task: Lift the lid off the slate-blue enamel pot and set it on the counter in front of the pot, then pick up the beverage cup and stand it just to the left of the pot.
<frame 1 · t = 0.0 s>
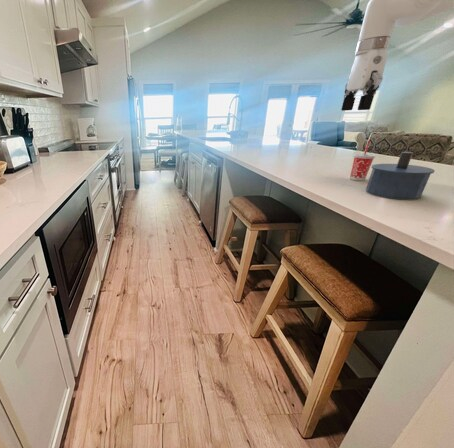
hand: (354, 110, 80), 24 cm above the countertop, tool pointing down, fingers open, 9 cm apart
pot lid: (400, 169, 72), point 7 cm above the countertop, touching pot
beverage cup: (356, 179, 92), on the countertop
pot: (391, 193, 75), on the countertop
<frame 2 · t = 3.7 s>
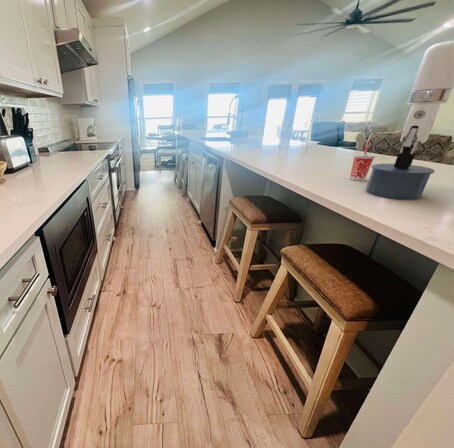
hand: (402, 166, 72), 8 cm above the countertop, tool pointing down, fingers closed on pot lid, 2 cm apart
pot lid: (400, 169, 72), point 8 cm above the countertop, touching gripper, pot
everything else where it was.
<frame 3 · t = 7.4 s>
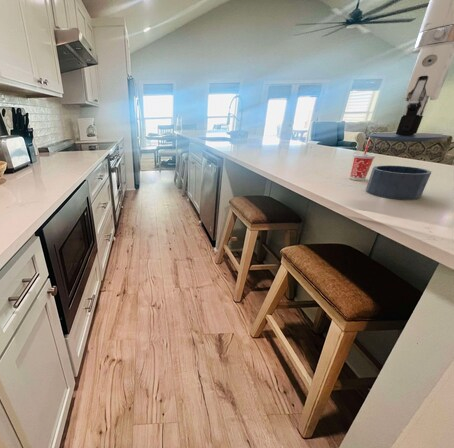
hand: (406, 133, 58), 19 cm above the countertop, tool pointing down, fingers closed on pot lid, 2 cm apart
pot lid: (404, 137, 58), point 18 cm above the countertop, touching gripper
everything else where it was.
when the fingers open (1 cm above the countertop, at t = 11.3 s): pot lid stays where it is, point 1 cm above the countertop.
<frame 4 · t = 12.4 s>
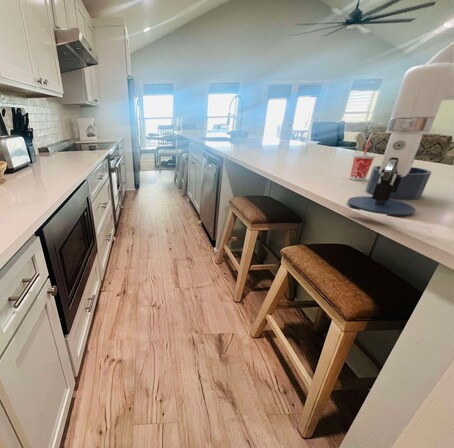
hand: (384, 195, 64), 4 cm above the countertop, tool pointing down, fingers open, 9 cm apart
pot lid: (379, 205, 65), point 1 cm above the countertop
everything else where it was.
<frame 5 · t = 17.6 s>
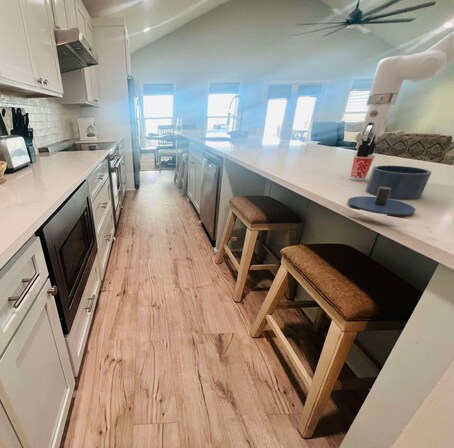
hand: (364, 155, 88), 9 cm above the countertop, tool pointing down, fingers closed on beverage cup, 6 cm apart
beverage cup: (356, 179, 92), on the countertop, touching gripper
everything else where it was.
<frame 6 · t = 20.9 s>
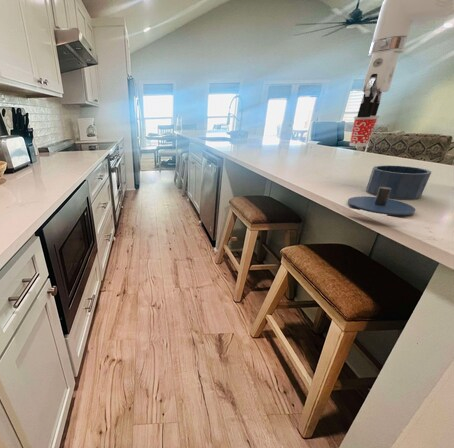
hand: (366, 116, 76), 22 cm above the countertop, tool pointing down, fingers closed on beverage cup, 6 cm apart
beverage cup: (357, 146, 80), point 13 cm above the countertop, touching gripper
everything else where it was.
when the fingers open (9 cm above the countertop, at t = 24.4 s): beverage cup stays where it is, on the countertop.
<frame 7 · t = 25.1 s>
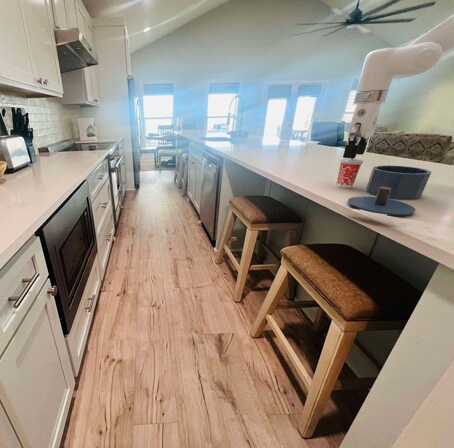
hand: (353, 156, 80), 10 cm above the countertop, tool pointing down, fingers open, 9 cm apart
beverage cup: (343, 186, 84), on the countertop
everything else where it was.
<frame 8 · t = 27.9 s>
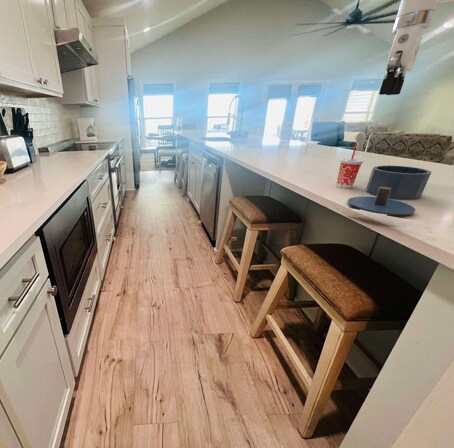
hand: (389, 94, 73), 28 cm above the countertop, tool pointing down, fingers open, 9 cm apart
nothing on the countertop moved.
at the end: pot lid inside the target area (0.5 cm from its centre), point 0.6 cm above the countertop; beverage cup inside the target area on the countertop beside the pot (0.4 cm from its centre), on the countertop; beverage cup tilted 0° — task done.
